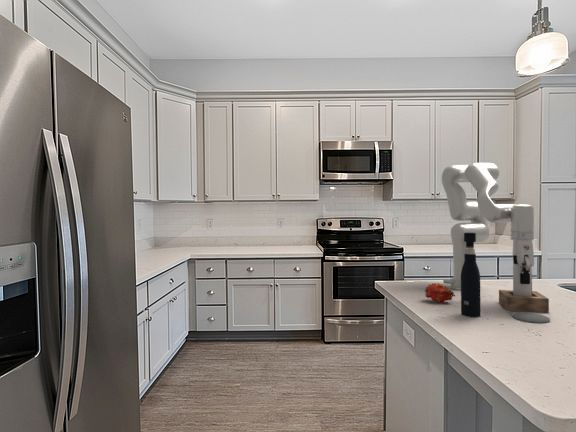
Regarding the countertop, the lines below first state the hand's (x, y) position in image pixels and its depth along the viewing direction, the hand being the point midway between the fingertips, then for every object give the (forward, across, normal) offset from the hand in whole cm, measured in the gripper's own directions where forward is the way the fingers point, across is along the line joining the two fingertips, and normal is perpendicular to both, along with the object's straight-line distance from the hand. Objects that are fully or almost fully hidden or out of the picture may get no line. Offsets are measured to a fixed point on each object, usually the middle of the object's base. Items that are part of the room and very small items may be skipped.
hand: (522, 281), depth 142 cm
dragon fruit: (+10, +1, +30) cm, 32 cm away
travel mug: (+10, 0, 0) cm, 10 cm away
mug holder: (+10, 0, 0) cm, 10 cm away
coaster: (+10, -16, +2) cm, 19 cm away
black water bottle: (+10, -16, +21) cm, 28 cm away
